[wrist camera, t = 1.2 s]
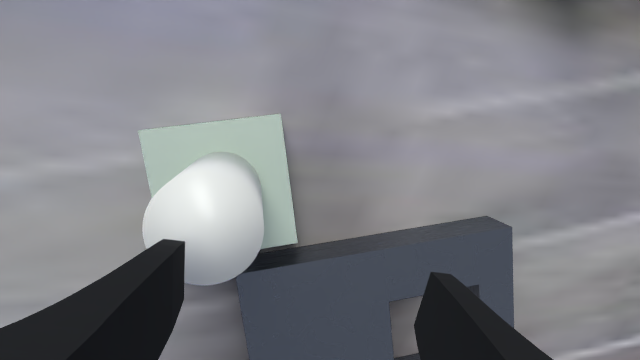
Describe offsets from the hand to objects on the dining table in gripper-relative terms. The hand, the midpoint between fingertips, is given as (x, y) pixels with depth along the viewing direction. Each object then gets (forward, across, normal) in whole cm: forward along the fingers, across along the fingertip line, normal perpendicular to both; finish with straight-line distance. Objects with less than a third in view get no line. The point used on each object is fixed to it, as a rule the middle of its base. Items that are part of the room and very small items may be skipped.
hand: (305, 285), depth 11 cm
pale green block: (+11, +5, +2) cm, 12 cm away
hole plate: (+10, -6, +10) cm, 16 cm away
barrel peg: (+9, +4, +2) cm, 10 cm away
